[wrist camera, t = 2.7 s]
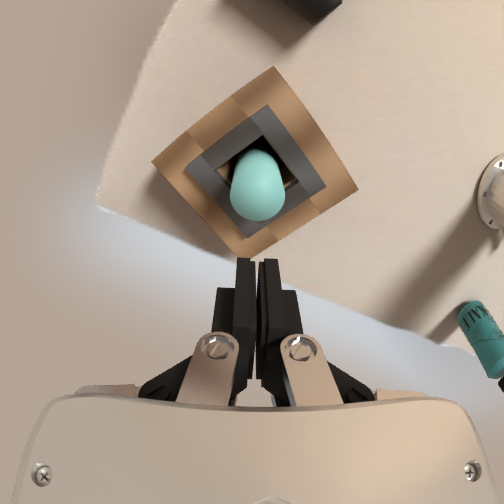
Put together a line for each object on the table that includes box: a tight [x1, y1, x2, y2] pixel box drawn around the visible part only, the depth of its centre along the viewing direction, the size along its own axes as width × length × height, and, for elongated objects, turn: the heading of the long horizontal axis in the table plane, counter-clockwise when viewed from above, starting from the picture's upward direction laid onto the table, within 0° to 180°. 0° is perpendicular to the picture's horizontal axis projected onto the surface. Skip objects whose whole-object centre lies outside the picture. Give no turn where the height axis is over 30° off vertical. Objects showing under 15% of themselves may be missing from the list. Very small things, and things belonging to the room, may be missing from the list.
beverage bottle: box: [458, 300, 504, 392], centre depth 39 cm, size 6×7×20 cm
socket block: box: [151, 66, 359, 259], centre depth 30 cm, size 14×14×9 cm
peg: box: [230, 145, 285, 221], centre depth 26 cm, size 4×4×9 cm
